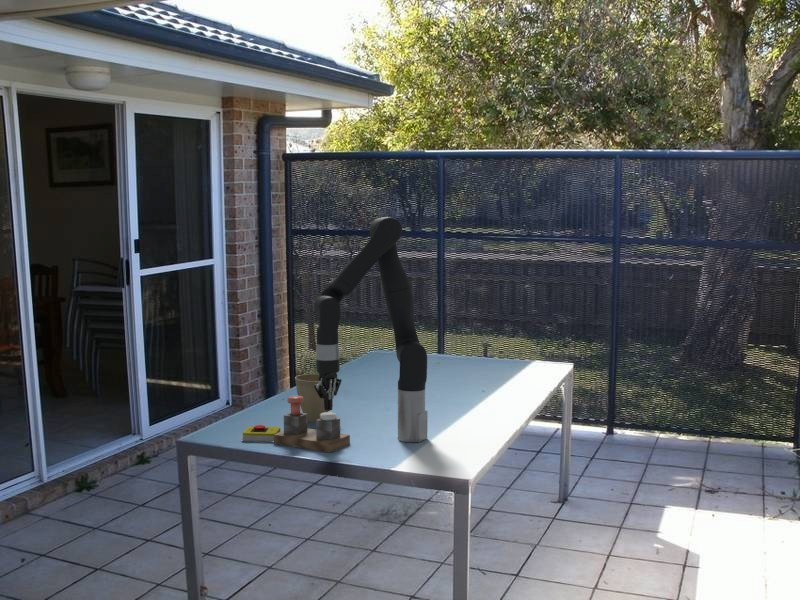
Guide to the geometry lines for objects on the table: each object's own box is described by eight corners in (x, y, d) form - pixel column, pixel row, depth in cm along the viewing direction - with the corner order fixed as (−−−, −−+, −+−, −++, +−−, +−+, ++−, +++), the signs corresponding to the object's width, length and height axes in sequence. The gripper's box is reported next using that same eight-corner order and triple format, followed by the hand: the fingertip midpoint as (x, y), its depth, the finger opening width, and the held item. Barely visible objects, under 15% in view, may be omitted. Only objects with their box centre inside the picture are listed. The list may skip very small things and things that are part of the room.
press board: (349, 443, 266) (349, 416, 265) (329, 452, 256) (329, 425, 255) (295, 435, 277) (295, 409, 276) (273, 443, 266) (273, 416, 265)
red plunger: (306, 416, 270) (306, 396, 269) (297, 420, 265) (297, 399, 264) (293, 414, 272) (293, 395, 271) (284, 418, 268) (284, 398, 267)
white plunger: (339, 433, 264) (339, 413, 263) (330, 437, 259) (330, 416, 259) (326, 431, 266) (326, 411, 266) (317, 435, 262) (317, 414, 261)
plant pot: (325, 426, 288) (325, 382, 287) (288, 422, 294) (287, 379, 292) (342, 416, 302) (342, 375, 301) (306, 413, 308) (306, 372, 306)
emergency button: (244, 422, 278) (287, 423, 277) (244, 435, 278) (287, 435, 278) (237, 429, 269) (282, 430, 268) (237, 442, 269) (282, 443, 268)
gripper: (326, 361, 253) (326, 415, 254) (348, 355, 264) (349, 407, 266) (306, 359, 256) (307, 413, 258) (329, 353, 268) (330, 404, 270)
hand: (328, 410), depth 262 cm, fingers closed
